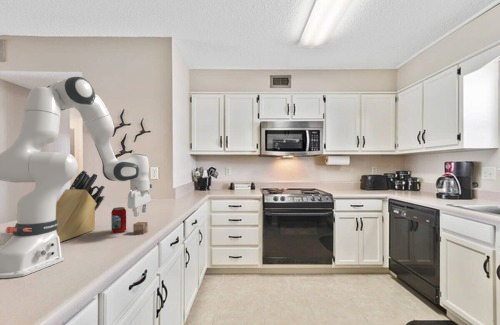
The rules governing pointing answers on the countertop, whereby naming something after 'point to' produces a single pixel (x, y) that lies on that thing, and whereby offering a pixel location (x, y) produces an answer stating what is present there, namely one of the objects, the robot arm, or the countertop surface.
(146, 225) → the walnut block
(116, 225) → the beverage can
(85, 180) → the knife block
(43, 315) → the countertop surface
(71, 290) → the countertop surface
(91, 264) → the countertop surface
